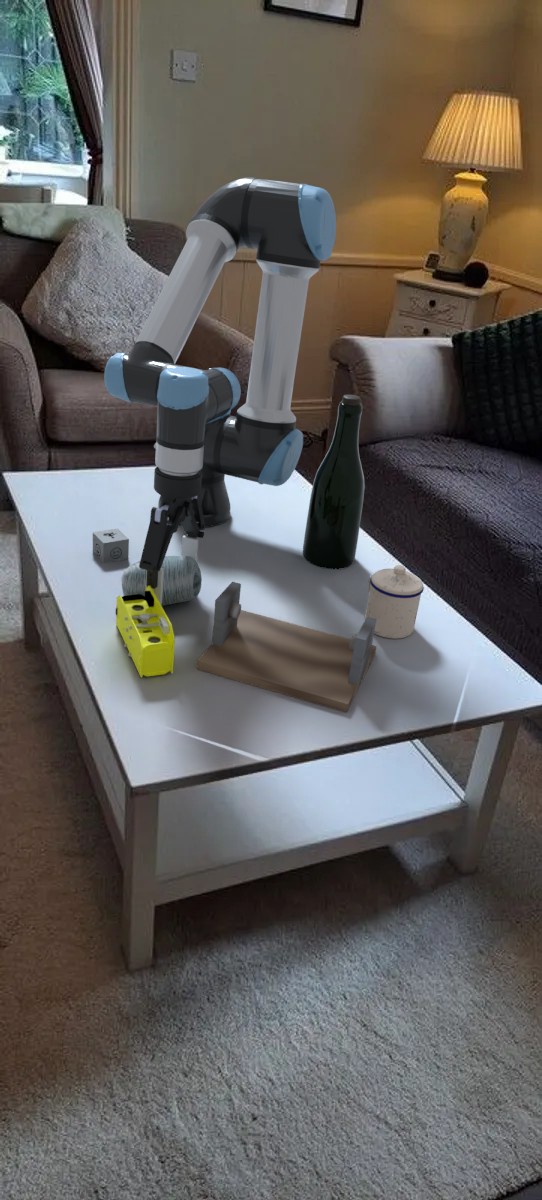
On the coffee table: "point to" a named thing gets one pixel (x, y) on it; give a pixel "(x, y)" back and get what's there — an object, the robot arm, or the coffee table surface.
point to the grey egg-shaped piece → (167, 579)
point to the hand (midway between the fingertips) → (171, 586)
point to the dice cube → (110, 545)
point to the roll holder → (287, 654)
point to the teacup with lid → (394, 601)
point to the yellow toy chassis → (146, 633)
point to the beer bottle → (337, 495)
